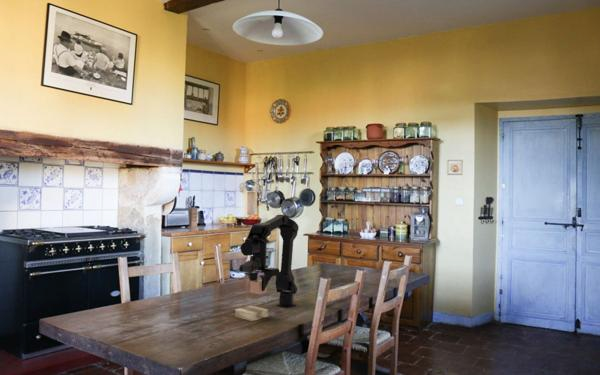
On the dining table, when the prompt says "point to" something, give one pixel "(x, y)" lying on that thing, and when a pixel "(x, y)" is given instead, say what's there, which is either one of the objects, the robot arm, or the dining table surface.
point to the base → (251, 313)
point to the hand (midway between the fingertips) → (258, 290)
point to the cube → (257, 287)
